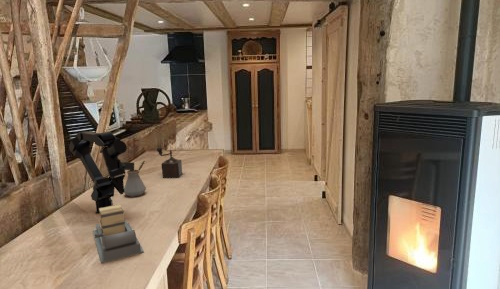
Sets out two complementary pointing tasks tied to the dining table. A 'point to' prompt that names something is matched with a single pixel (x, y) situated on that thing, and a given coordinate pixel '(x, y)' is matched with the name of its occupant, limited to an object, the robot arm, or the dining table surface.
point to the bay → (117, 244)
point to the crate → (112, 220)
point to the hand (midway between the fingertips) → (122, 193)
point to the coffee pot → (134, 183)
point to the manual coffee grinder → (170, 166)
